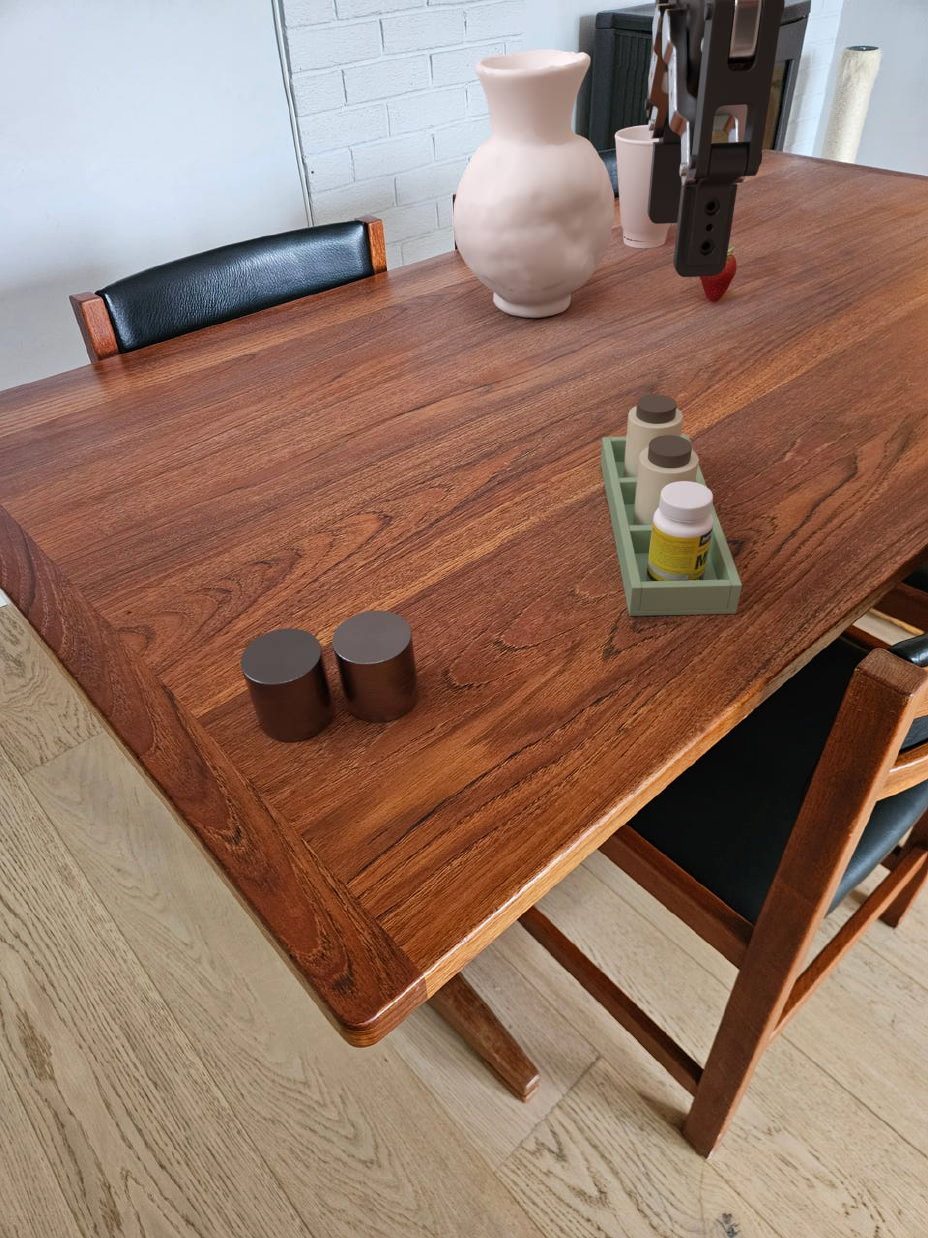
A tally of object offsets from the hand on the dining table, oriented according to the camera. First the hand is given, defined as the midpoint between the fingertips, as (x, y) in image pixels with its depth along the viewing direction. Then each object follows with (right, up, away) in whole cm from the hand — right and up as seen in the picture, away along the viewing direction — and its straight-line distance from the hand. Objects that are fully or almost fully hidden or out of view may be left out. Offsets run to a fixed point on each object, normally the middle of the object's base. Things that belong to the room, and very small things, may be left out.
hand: (681, 245), depth 40 cm
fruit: (+24, +27, +76) cm, 84 cm away
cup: (+19, +45, +97) cm, 109 cm away
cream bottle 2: (+7, -10, +35) cm, 37 cm away
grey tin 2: (-17, -24, +21) cm, 36 cm away
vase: (-1, +27, +78) cm, 83 cm away
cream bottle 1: (+8, -5, +41) cm, 42 cm away
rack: (+7, -10, +35) cm, 38 cm away
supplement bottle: (+7, -15, +29) cm, 34 cm away
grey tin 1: (-23, -25, +20) cm, 40 cm away
